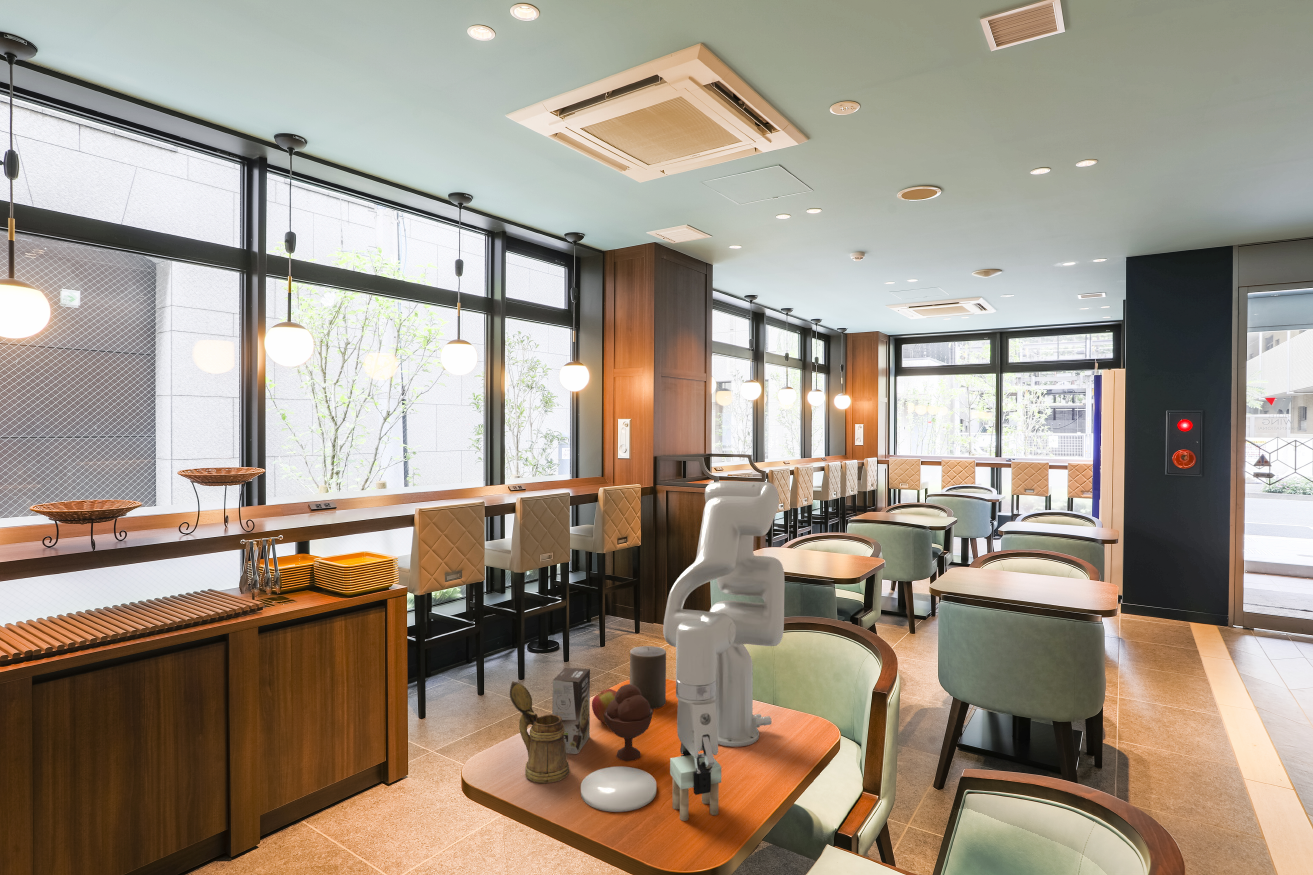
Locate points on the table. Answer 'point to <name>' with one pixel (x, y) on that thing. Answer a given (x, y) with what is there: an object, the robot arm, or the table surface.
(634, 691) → the ice cream bowl
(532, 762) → the wooden mug
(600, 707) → the apple
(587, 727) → the coffee box
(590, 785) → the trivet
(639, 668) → the pillar candle
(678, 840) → the table surface
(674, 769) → the mint green stool
